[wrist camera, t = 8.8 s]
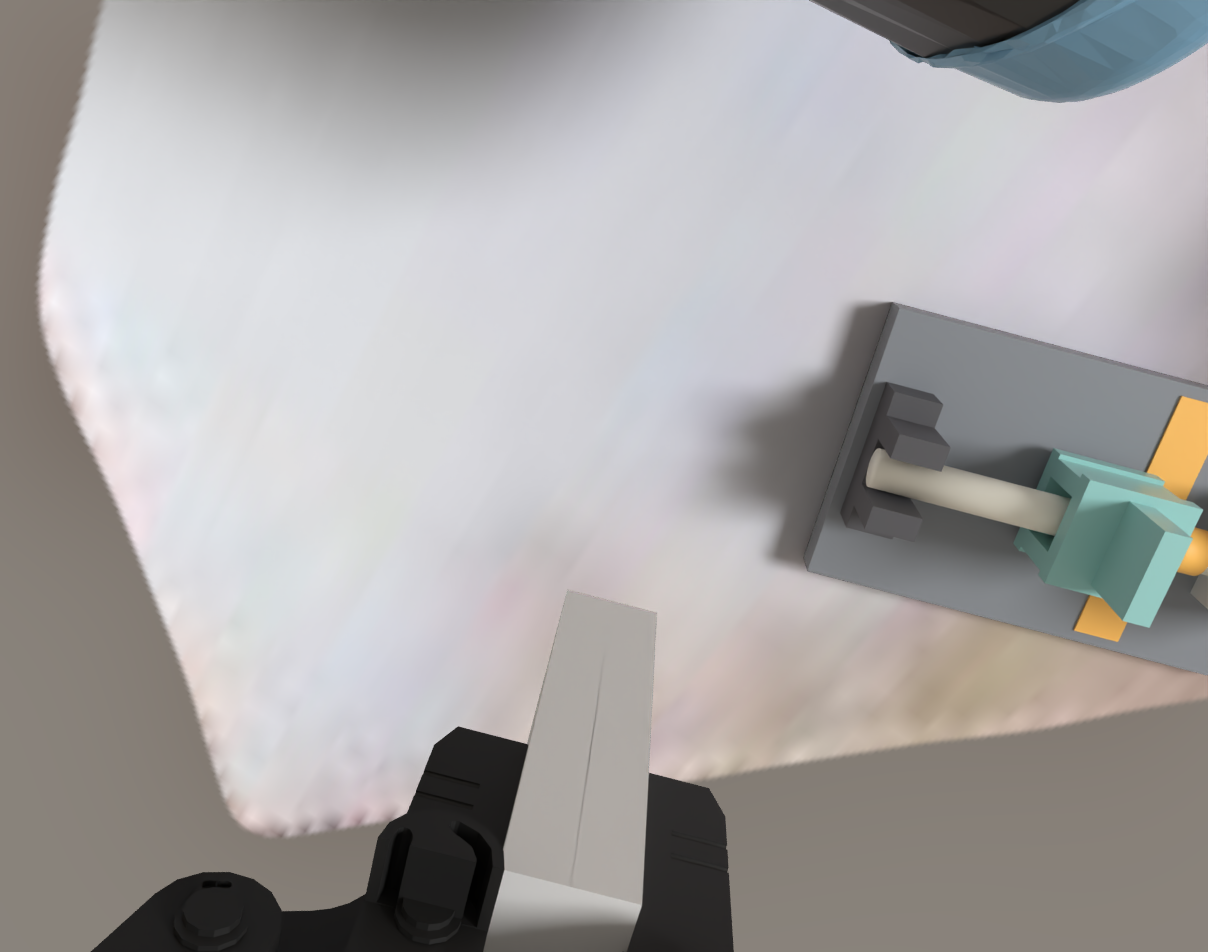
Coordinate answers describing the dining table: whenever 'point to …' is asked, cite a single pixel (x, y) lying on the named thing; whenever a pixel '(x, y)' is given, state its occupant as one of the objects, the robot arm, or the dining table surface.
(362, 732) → the dining table surface
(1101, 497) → the sleeve
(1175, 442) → the cable board
